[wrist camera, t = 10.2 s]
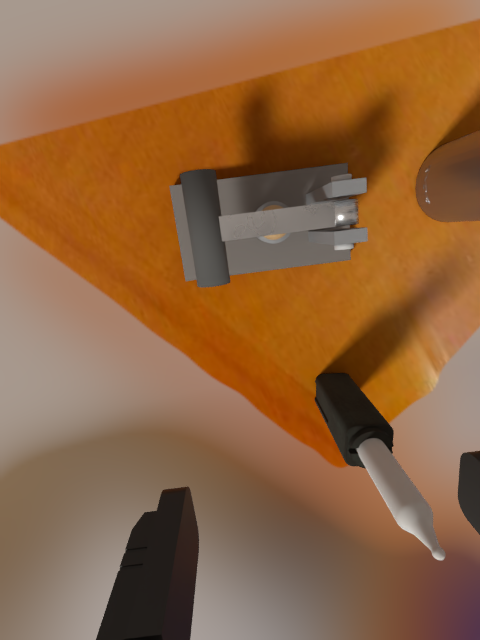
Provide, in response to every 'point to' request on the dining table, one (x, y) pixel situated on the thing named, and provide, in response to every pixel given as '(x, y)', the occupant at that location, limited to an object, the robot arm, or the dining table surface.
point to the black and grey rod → (374, 453)
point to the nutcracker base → (248, 203)
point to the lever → (244, 223)
